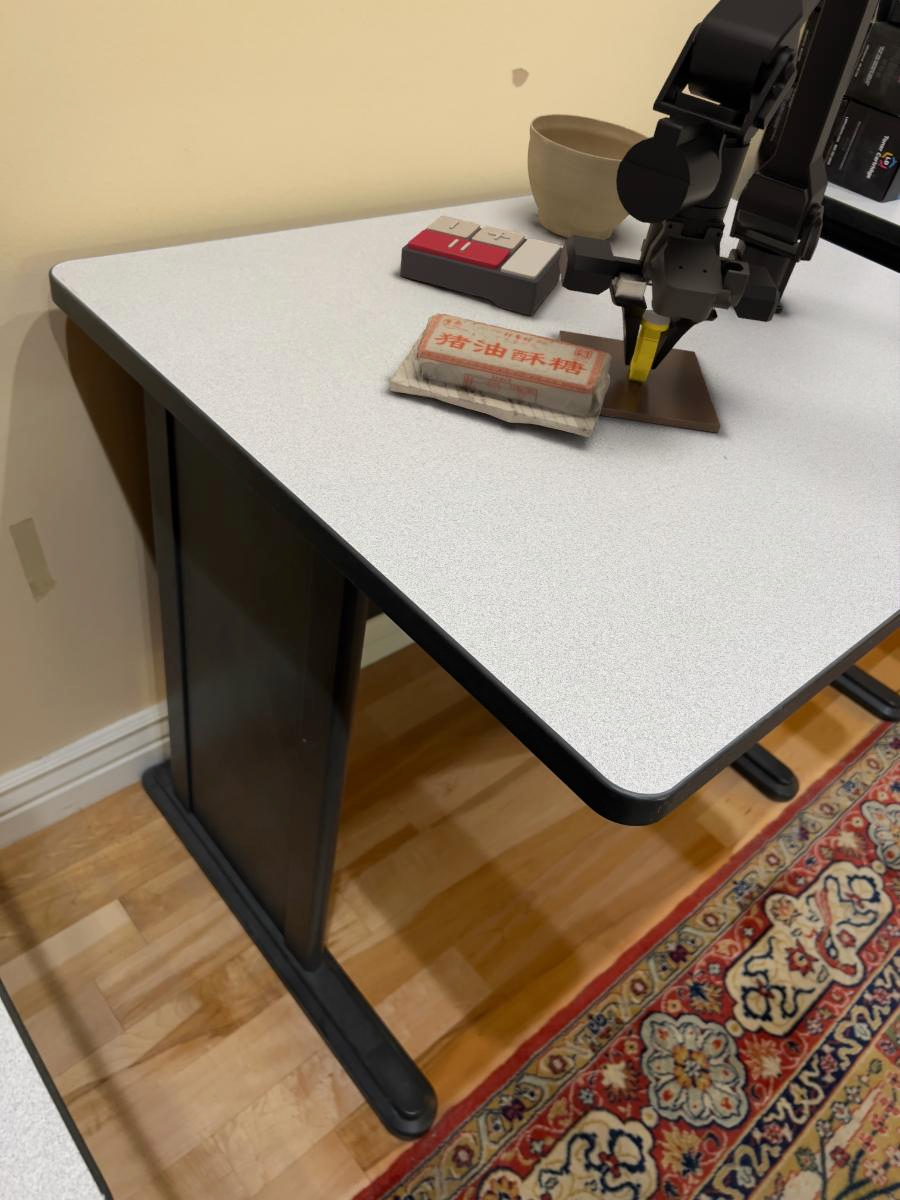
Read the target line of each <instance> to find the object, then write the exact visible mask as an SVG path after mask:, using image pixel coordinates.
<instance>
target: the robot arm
mask: <svg viewBox="0 0 900 1200" xmlns="http://www.w3.org/2000/svg"><path fill="white" fill-rule="evenodd" d="M820 1H821V0H719V1H718V2H717V3H716V4H715V5H714V6H713V8H712V9H711V10H709V12H708V13H707V14H706V15H705V16H704V18H703V19H702V20H701V21H699V22H698V23H697V24H696V25H695V26H694V27H693V29H692V31H691V32H690V34H689V36H688V37H687V40H686V41H685V43H684V45H683V47H682V49H681V51H680V53H679V54H678V56H677V59H676V60H675V63H674V64H673V66H672V68H671V69H670V72H669V74H668V75H667V78H666V79H665V81H664V83H663V85H662V87H661V89H660V90H659V93H658V94H657V96H656V98H655V100H654V103H653V105H652V111H655V112H656V113H660V114H663V115H666V116H665V117H662V118H661V117H660V118H659V119H658V120H657V123H656V126H655V129H654V131H653V132H654V133H653V136H649V138H647V139H644V140H642V141H640V142H638V143H637V144H635V145H634V146H633V147H632V148H631V149H630V150H629V151H628V152H627V153H626V155H625V156H624V158H623V160H622V161H621V162H620V164H619V167H618V170H617V178H616V185H617V193H618V196H619V200H620V202H621V204H622V205H623V207H624V209H625V210H626V211H627V212H628V213H629V216H630V217H632V218H634V219H635V220H636V221H638V222H640V223H644V224H649V226H648V230H647V233H646V236H645V238H643V241H642V243H641V247H640V256H639V259H636V258H630V257H626V256H625V257H624V256H618V255H614V253H613V252H614V251H613V249H612V245H611V244H612V243H611V241H610V240H607V239H605V240H601V239H595V238H589V237H583V236H577V235H572V236H571V237H569V238H567V239H565V240H564V243H563V245H562V247H561V248H562V252H561V256H560V260H559V267H560V280H561V287H562V288H564V289H566V290H567V291H570V292H577V293H584V294H588V295H589V294H590V295H595V296H599V295H600V294H602V293H603V292H605V291H607V290H609V294H610V299H611V303H612V304H613V305H614V306H616V307H618V308H619V307H620V308H621V314H622V315H621V316H622V334H623V335H622V337H623V339H622V340H624V361H625V365H628V366H629V365H630V363H631V361H632V358H633V355H634V352H635V347H636V343H637V338H638V336H639V332H640V329H641V319H642V316H643V314H644V313H645V311H646V310H648V305H647V301H646V298H645V292H646V289H647V286H649V287H651V296H652V297H651V308H652V309H651V310H653V311H654V312H655V313H656V314H658V315H660V316H663V317H669V318H670V324H669V327H668V329H667V330H666V331H662V332H661V333H660V337H659V341H658V345H657V349H656V352H655V356H654V359H653V362H652V365H651V369H653V370H655V369H656V368H657V367H658V365H659V364H660V363H661V362H662V360H663V359H664V358H665V357H666V355H667V354H668V353H669V352H670V351H671V349H672V348H674V347H675V346H676V345H677V344H678V342H680V340H681V339H682V337H684V335H686V334H687V332H689V331H690V330H691V329H692V328H693V327H694V326H696V325H699V324H701V323H703V322H714V321H716V319H717V318H718V317H719V315H718V313H717V310H716V308H717V309H721V310H729V309H730V307H732V309H733V310H734V313H735V314H736V316H737V317H738V319H745V320H749V321H756V322H762V323H769V322H771V321H772V320H773V318H774V316H775V313H776V312H778V313H782V312H783V310H784V306H783V304H782V302H781V300H782V298H783V295H784V293H785V291H786V288H787V286H788V284H789V281H790V279H791V277H792V274H793V271H794V270H795V267H796V265H797V264H799V263H800V262H801V261H802V262H810V261H812V259H813V256H814V254H815V252H816V250H817V247H818V244H819V240H820V236H821V233H822V229H823V224H824V221H823V218H824V210H825V206H824V205H822V202H823V200H824V196H825V193H826V191H827V187H828V184H829V179H828V175H827V170H826V165H825V161H824V155H823V154H824V151H825V147H826V145H827V143H828V140H829V137H830V134H831V131H832V128H833V125H834V123H835V120H836V118H837V114H838V112H839V109H840V106H841V104H842V102H843V98H844V96H845V93H846V91H847V87H848V84H849V81H850V79H851V76H852V73H853V72H854V71H853V70H854V68H855V65H856V63H857V60H858V57H859V54H860V52H861V49H862V45H863V44H864V41H865V38H866V35H867V33H868V30H869V27H870V24H871V21H872V19H873V16H874V14H875V11H876V8H877V5H878V3H879V0H823V3H822V5H821V10H820V12H819V15H818V19H817V22H816V25H815V27H814V31H813V33H812V37H811V40H810V43H809V46H808V49H807V53H806V55H805V59H804V62H803V65H802V67H801V71H800V75H799V77H798V80H797V83H796V86H795V90H794V93H793V96H792V99H791V102H790V106H789V108H788V111H787V114H786V117H785V121H784V124H783V126H782V130H781V132H780V136H779V139H778V142H777V145H776V149H775V151H774V154H773V155H771V157H769V158H768V160H766V161H765V162H764V163H763V164H762V165H761V166H760V167H759V168H758V169H757V170H756V171H754V173H753V174H751V176H750V177H749V179H748V180H747V183H746V184H745V186H744V188H743V189H742V190H741V193H740V194H739V197H738V200H737V204H736V207H735V211H734V215H733V219H732V224H731V227H730V232H729V234H728V235H729V238H732V239H737V240H738V242H737V245H736V247H735V248H731V249H730V251H729V254H728V256H721V242H722V239H723V237H724V230H725V228H726V223H725V222H724V219H725V216H726V214H727V211H728V208H729V205H730V202H731V200H732V196H733V193H734V191H735V187H736V185H737V182H738V179H739V177H740V174H741V171H742V169H743V165H744V163H745V161H746V156H747V154H748V151H749V149H750V146H751V141H752V139H753V138H754V137H755V136H756V134H757V133H758V131H759V130H761V131H765V129H766V128H767V126H769V125H768V124H769V123H770V122H771V120H772V118H773V116H774V115H775V113H776V112H777V110H778V109H779V107H780V106H781V104H782V102H783V101H784V99H785V98H786V97H787V95H788V93H789V91H790V90H791V88H792V86H793V85H794V83H795V81H796V78H797V75H798V69H797V62H798V57H799V54H798V50H799V44H800V43H799V42H800V38H801V30H802V28H803V26H804V24H805V23H806V22H807V21H808V19H809V17H810V16H811V14H812V13H813V12H814V10H816V9H815V8H816V7H817V6H818V4H819V3H820ZM686 88H687V89H688V91H689V93H690V94H688V93H686V92H684V90H685V89H686ZM668 116H669V117H668Z"/></svg>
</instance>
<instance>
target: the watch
mask: <svg viewBox="0 0 900 1200" xmlns="http://www.w3.org/2000/svg"><path fill="white" fill-rule="evenodd" d="M669 324H670V318H669V317H663V316H660V315H658V314H656V313H655V312H654V311H653V309H646V311H645V313H644V314H643V316H642V319H641V324H640V329H639V333H638V338H637V343H636V347H635V352H634V355H633V358H632V361H631V368H630V376H629V379H630V380H633V381H637V382H641V383H643V382H644V381H645V380H646V378H647V376H648V373H649V371H650V368H651V365H652V362H653V359H654V356H655V352H656V349H657V345H658V341H659V337H660V333H661V332H662V331H666V330H667V329H668V327H669Z"/></svg>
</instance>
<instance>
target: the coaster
mask: <svg viewBox="0 0 900 1200" xmlns="http://www.w3.org/2000/svg"><path fill="white" fill-rule="evenodd" d="M557 340H558V341H563V342H567V343H570V344H575V345H580V346H584V347H588V348H593V349H594V350H599V351H603V352H607V353H609V354H610V355H612V360H611V363H610V369H609V372H608V374H609V375H610V384H609V387H608V389H607V392H606V394H605V397H604V401H603V404H602V408H601V411H600V415H599V416H602V417H611V418H617V419H623V420H629V421H635V422H636V421H637V422H643V423H649V424H656V425H664V426H669V427H676V428H682V429H689V430H696V431H701V432H702V431H703V432H709V433H714V434H718V433H719V431H720V429H721V427H722V426H721V422H720V419H719V416H718V413H717V411H716V408H715V406H714V402H713V399H712V397H711V394H710V390H709V388H708V385H707V383H706V379H705V376H704V374H703V371H702V368H701V366H700V363H699V359H698V356H697V354H696V351H693V350H687V349H680V348H674V347H673V348H672V349H671V351H670V352H669V353H668V354H667V355H666V357H665V358H664V359H663V360H662V362H661V363H660V364H659V365H658V367H657V368H656V369H655V370H653V369H651V368H650V371H649V373H648V376H647V378H646V380H645V381H644V382H643V383H641V382H637V381H633V380H630V379H629V376H630V368H631V363H630V365H629V366H628V365H625V361H624V340H623V339H618V338H617V339H616V338H611V337H604V336H598V335H592V334H586V333H578V332H572V331H568V330H567V331H566V330H559V332H558V336H557Z"/></svg>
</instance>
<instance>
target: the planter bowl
mask: <svg viewBox="0 0 900 1200" xmlns="http://www.w3.org/2000/svg"><path fill="white" fill-rule="evenodd" d="M647 138H650V136H647V135H645V134H643V133H642V132H639V131H638V130H635V129H633V128H629V127H626V126H625V125H621V124H619V123H618V124H617V123H614V122H611V121H607V120H602V119H599V118H594V117H589V116H583V115H578V114H569V113H568V114H567V113H549V114H542V115H537V116H536V117H533V118H532V119H531V121H530V125H529V143H528V147H527V148H528V149H527V174H528V175H527V176H528V181H529V187H530V191H531V194H532V197H533V199H534V203H535V205H536V206H537V220H538V222H539V224H540V225H541V226H543V228H545V230H548V231H550V232H552V233H554V234H556V235H559V236H561V237H565V238H567V239H568V238H569V237H571V236H572V235H577V236H583V237H589V238H595V239H601V240H607V239H609V238H610V237H611V236H612V235H613V232H614V230H615V228H616V227H617V226H618V225H620V224H621V223H623V222H624V220H626V219H627V218H628V217H629V216H630V215H629V213H628V212H627V211H626V210H625V209H624V207H623V205H622V204H621V202H620V200H619V196H618V193H617V185H616V178H617V170H618V167H619V164H620V162H621V161H622V160H623V158H624V156H625V155H626V153H627V152H628V151H629V150H630V149H631V148H632V147H633V146H634V145H635V144H637V143H638V142H640V141H642V140H644V139H647Z"/></svg>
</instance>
